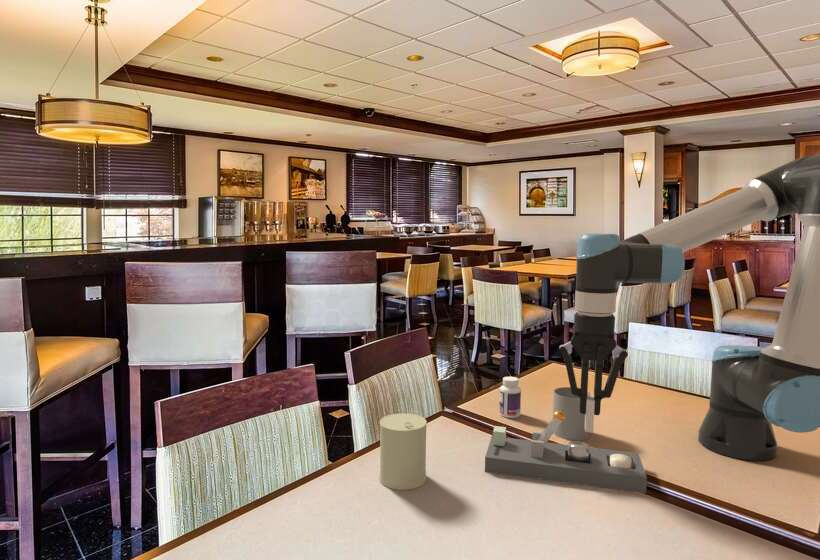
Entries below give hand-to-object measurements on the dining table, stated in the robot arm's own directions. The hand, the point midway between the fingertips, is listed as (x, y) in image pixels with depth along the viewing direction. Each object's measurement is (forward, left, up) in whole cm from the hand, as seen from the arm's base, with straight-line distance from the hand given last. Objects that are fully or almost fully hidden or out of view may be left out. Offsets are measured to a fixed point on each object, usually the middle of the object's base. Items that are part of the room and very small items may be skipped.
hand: (588, 429), depth 105 cm
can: (+35, +13, -9) cm, 38 cm away
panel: (+5, 0, -9) cm, 10 cm away
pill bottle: (+18, -28, -9) cm, 34 cm away
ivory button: (-6, 0, -9) cm, 11 cm away
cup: (+3, -20, -9) cm, 22 cm away
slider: (+18, -2, -6) cm, 19 cm away
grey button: (+2, 0, -7) cm, 7 cm away
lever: (+10, 0, -5) cm, 11 cm away
